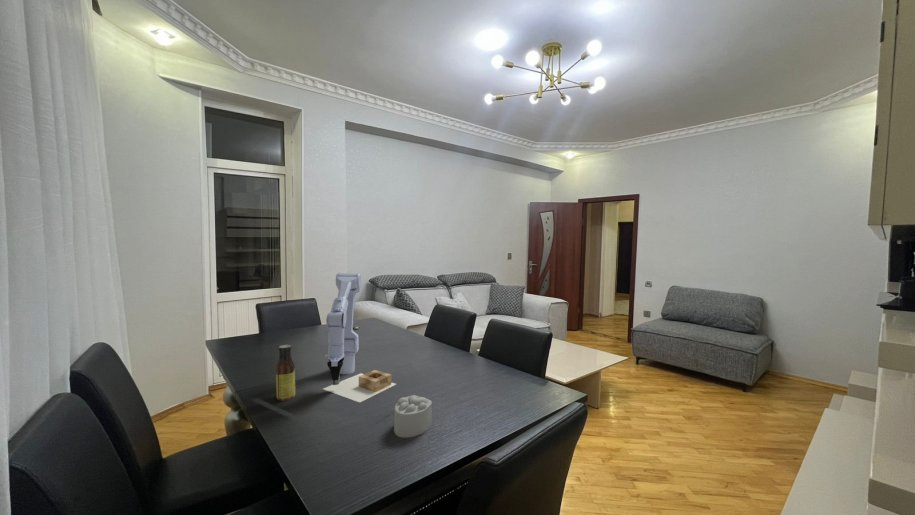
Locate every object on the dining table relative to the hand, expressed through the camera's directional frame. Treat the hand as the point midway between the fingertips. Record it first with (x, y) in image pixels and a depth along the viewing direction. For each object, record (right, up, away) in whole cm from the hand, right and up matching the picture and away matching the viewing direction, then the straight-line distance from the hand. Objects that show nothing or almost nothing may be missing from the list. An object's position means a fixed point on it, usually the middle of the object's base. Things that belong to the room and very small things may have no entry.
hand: (335, 378), depth 138 cm
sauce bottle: (-16, -6, -7) cm, 18 cm away
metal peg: (0, -2, 0) cm, 2 cm away
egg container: (+32, -8, -22) cm, 40 cm away
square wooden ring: (+14, -5, +6) cm, 16 cm away
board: (+8, -6, +5) cm, 11 cm away
